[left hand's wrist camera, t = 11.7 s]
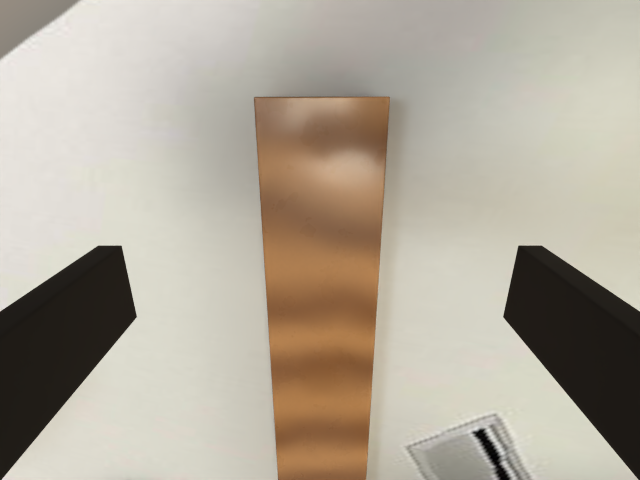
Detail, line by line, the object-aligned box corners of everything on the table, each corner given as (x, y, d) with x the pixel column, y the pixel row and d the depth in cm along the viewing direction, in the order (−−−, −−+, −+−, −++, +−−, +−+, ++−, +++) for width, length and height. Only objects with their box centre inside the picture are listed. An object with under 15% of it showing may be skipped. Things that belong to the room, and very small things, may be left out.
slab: (267, 97, 31) (253, 97, 24) (375, 96, 31) (390, 96, 24) (290, 546, 53) (286, 609, 46) (353, 546, 53) (357, 609, 46)
